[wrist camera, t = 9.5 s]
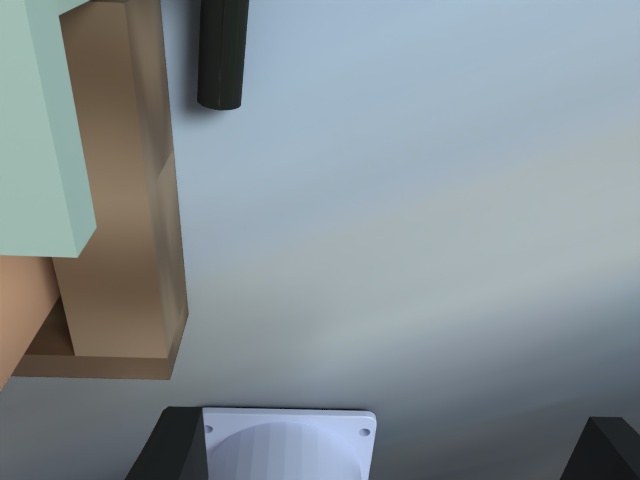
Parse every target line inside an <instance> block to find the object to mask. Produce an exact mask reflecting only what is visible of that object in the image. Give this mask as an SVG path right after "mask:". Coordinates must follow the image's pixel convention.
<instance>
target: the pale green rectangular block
mask: <svg viewBox="0 0 640 480" xmlns="http://www.w3.org/2000/svg"><path fill="white" fill-rule="evenodd" d="M87 1H89V0H0V255H12V256H42V257H72V258H78V256H79V255H80V253H81V251H82V250H83V248H84V247H85V245H86V244H87V242H88V240H89V239H90V237H91V236H92V234H93V233H94V231H95V229H96V228H97V226H96V220H95V214H94V209H93V203H92V198H91V192H90V187H89V181H88V176H87V170H86V165H85V159H84V154H83V148H82V143H81V137H80V132H79V126H78V120H77V115H76V109H75V104H74V98H73V93H72V87H71V82H70V76H69V71H68V65H67V60H66V54H65V49H64V43H63V38H62V32H61V26H60V21H59V15H61V14H63V13H65V12H67V11H69V10H71V9H73V8H75V7H77V6H79V5H81V4H83V3H85V2H87Z"/></svg>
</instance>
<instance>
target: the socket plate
mask: <svg viewBox="0 0 640 480" xmlns="http://www.w3.org/2000/svg"><path fill="white" fill-rule="evenodd" d="M59 21H60V26H61V32H62V38H63V43H64V49H65V54H66V60H67V65H68V71H69V76H70V82H71V87H72V93H73V98H74V104H75V109H76V115H77V120H78V126H79V132H80V137H81V143H82V148H83V154H84V159H85V165H86V170H87V176H88V181H89V187H90V192H91V198H92V203H93V209H94V214H95V220H96V226H97V228H96V229H95V231H94V233H93V234H92V236H91V237H90V239H89V240H88V242H87V244H86V245H85V247H84V248H83V250H82V251H81V253H80V255H79V256H78V258H72V257H52V260H53V264H54V268H55V272H56V276H57V281H58V285H59V289H60V293H61V295H60V296H59V298H58V299H57V301H56V303H55V304H54V306H53V308H52V309H51V311H50V312H49V314H48V316H47V317H46V319H45V321H44V322H43V324H42V325H41V327H40V329H39V330H38V332H37V334H36V335H35V337H34V338H33V340H32V342H31V343H30V345H29V347H28V348H27V350H26V351H25V353H24V355H23V356H22V358H21V360H20V361H19V363H18V364H17V366H16V368H15V369H14V371H13V373H12V374H11V376H25V377H68V378H110V379H152V380H170V378H171V374H172V371H173V367H174V364H175V360H176V357H177V353H178V350H179V346H180V343H181V339H182V336H183V332H184V328H185V325H186V321H187V318H188V304H187V293H186V282H185V271H184V259H183V248H182V237H181V226H180V215H179V204H178V193H177V182H176V170H175V159H174V148H173V137H172V126H171V115H170V104H169V93H168V81H167V70H166V59H165V48H164V37H163V26H162V15H161V4H160V0H89V1H87V2H85V3H83V4H81V5H79V6H77V7H75V8H73V9H71V10H69V11H67V12H65V13H63V14H61V15H59Z"/></svg>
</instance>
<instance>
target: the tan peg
mask: <svg viewBox="0 0 640 480" xmlns="http://www.w3.org/2000/svg"><path fill="white" fill-rule="evenodd" d="M60 295H61V293H60V289H59V285H58V281H57V276H56V272H55V268H54V264H53V260H52V257H42V256H12V255H0V392H1V390H2V389H3V387H4V386H5V384H6V382H7V381H8V379H9V377H10V376H11V374H12V373H13V371H14V369H15V368H16V366H17V364H18V363H19V361H20V360H21V358H22V356H23V355H24V353H25V351H26V350H27V348H28V347H29V345H30V343H31V342H32V340H33V338H34V337H35V335H36V334H37V332H38V330H39V329H40V327H41V325H42V324H43V322H44V321H45V319H46V317H47V316H48V314H49V312H50V311H51V309H52V308H53V306H54V304H55V303H56V301H57V299H58V298H59V296H60Z"/></svg>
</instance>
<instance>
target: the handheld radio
mask: <svg viewBox="0 0 640 480" xmlns="http://www.w3.org/2000/svg"><path fill="white" fill-rule="evenodd" d="M248 7H249V0H201V12H200V39H199V66H198V92H197V102H198V103H199V104H200V105H202V106H205V107H208V108H211V109H215V110H232V109H236V108H239V107H240V106H241V96H242V83H243V71H244V58H245V45H246V32H247V19H248Z"/></svg>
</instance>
